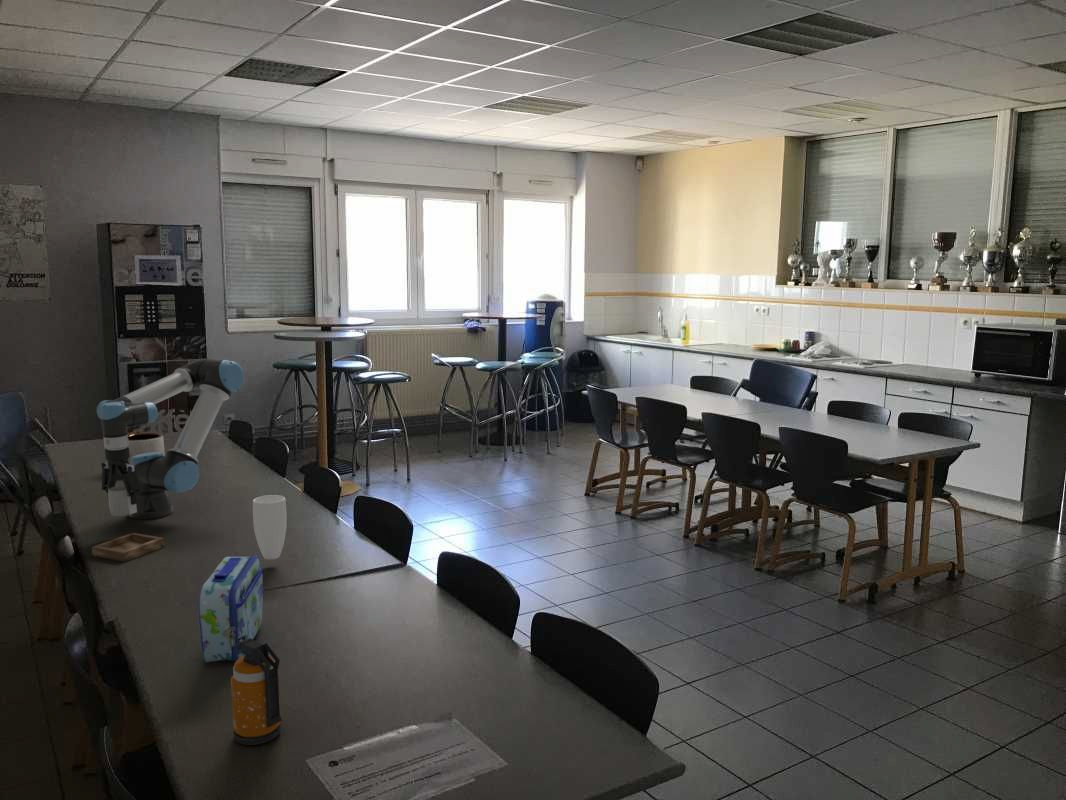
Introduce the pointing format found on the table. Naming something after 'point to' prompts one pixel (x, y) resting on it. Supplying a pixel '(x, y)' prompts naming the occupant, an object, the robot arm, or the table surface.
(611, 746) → the table surface
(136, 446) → the planter
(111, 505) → the cup
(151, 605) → the table surface
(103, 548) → the tray
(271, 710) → the canister
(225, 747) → the table surface
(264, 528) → the cup
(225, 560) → the lunch box
